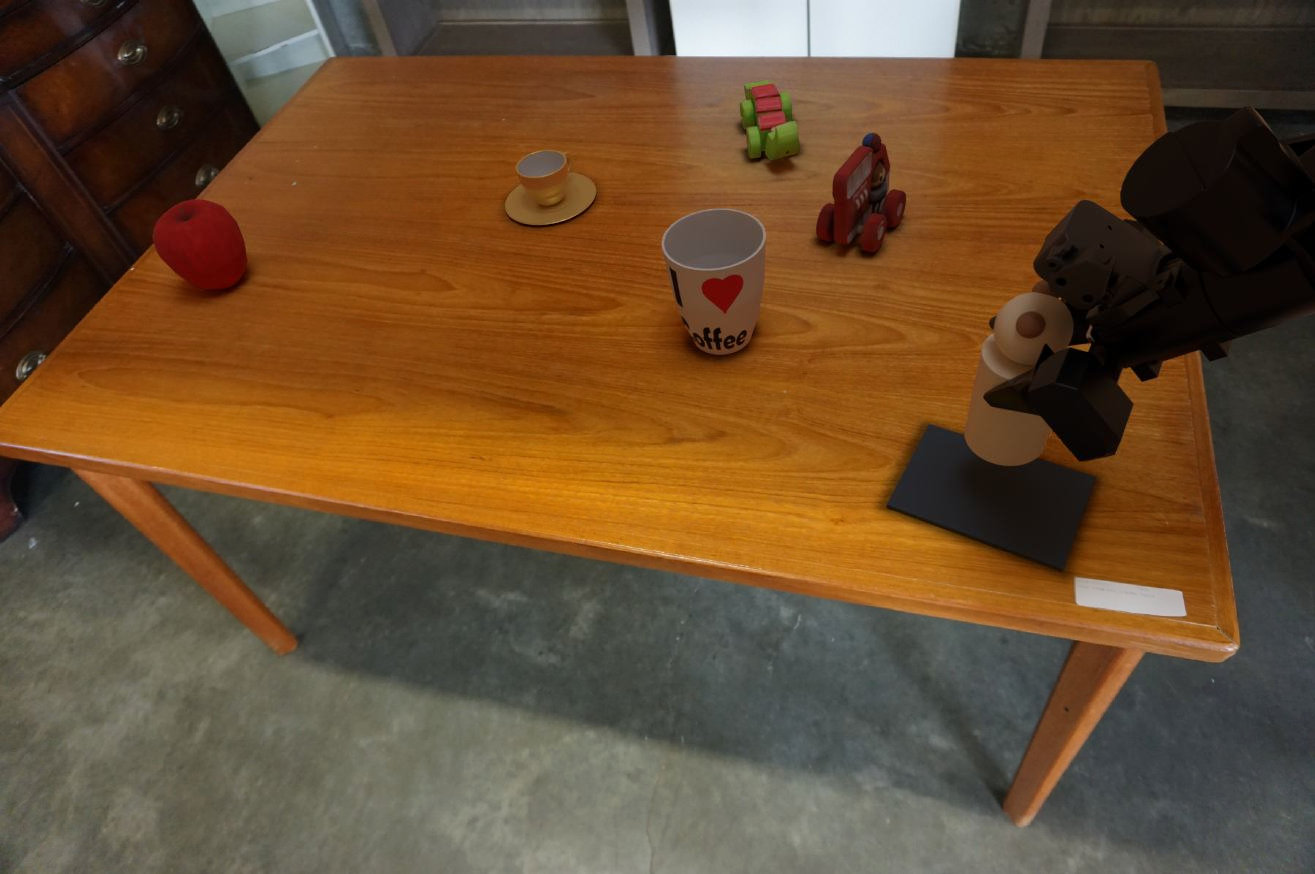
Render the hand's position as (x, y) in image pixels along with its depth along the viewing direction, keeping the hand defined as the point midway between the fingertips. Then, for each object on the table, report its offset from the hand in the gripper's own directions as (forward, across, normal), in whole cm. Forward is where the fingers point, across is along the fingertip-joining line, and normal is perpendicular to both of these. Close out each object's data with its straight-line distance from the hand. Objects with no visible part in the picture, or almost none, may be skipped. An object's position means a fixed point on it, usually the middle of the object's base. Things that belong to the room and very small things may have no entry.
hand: (1000, 371), depth 61 cm
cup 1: (+52, -21, -35) cm, 66 cm away
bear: (+4, 0, +6) cm, 7 cm away
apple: (+73, +9, -56) cm, 93 cm away
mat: (+8, +1, +10) cm, 12 cm away
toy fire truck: (+25, -29, -7) cm, 39 cm away
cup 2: (+29, -7, -11) cm, 32 cm away
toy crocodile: (+38, -44, -21) cm, 62 cm away
